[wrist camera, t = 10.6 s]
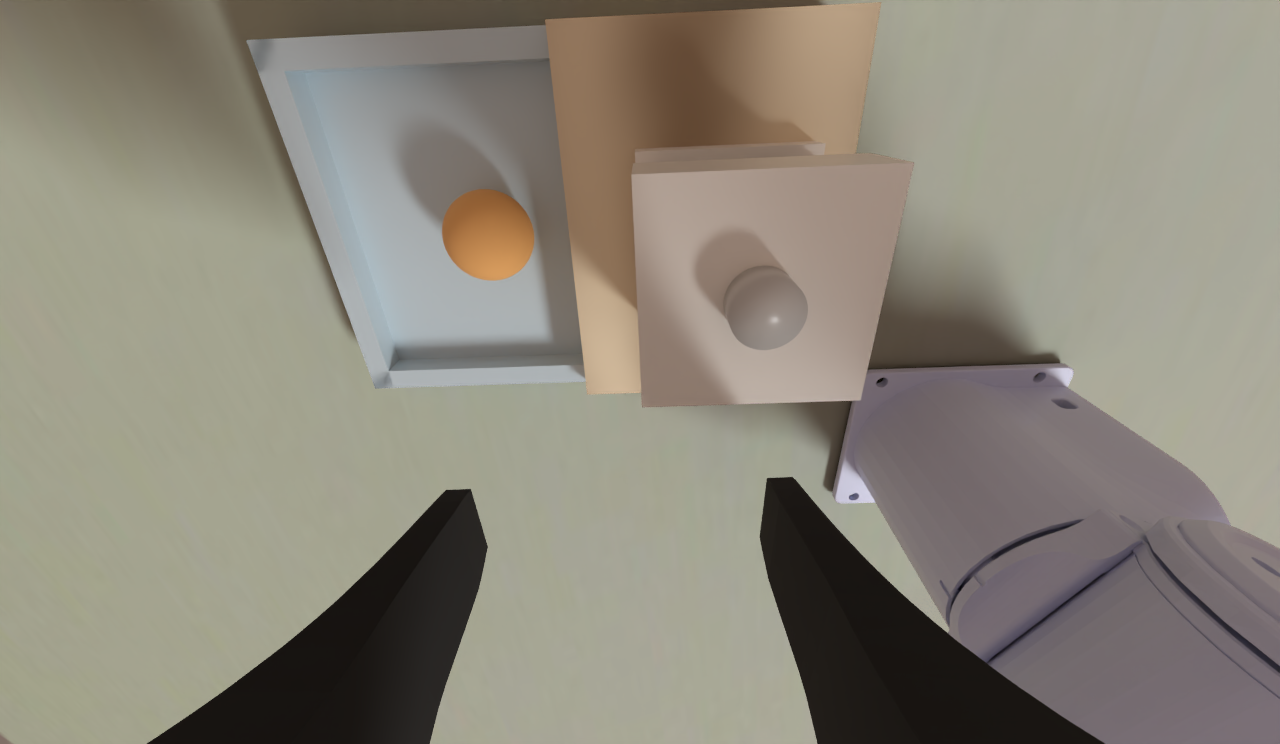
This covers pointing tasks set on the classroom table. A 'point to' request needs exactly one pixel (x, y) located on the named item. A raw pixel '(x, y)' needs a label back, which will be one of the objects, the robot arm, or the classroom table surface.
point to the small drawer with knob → (761, 270)
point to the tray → (431, 195)
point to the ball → (488, 234)
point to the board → (684, 126)
